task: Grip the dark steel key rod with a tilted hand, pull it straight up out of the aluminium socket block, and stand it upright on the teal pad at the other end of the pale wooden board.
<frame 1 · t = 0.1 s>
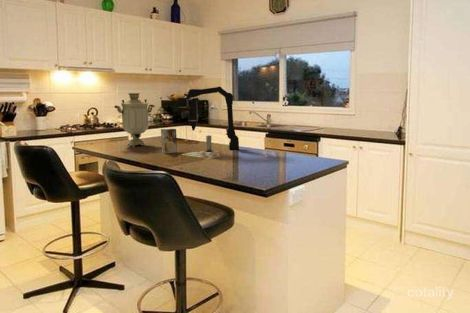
hand: (193, 129, 279), 15 cm above the countertop, tool pointing down, fingers open, 9 cm apart
key rod: (209, 156, 253), point 1 cm above the countertop, touching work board
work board: (201, 156, 257), on the countertop
coffee box: (169, 152, 275), on the countertop
samovar: (137, 145, 310), on the countertop
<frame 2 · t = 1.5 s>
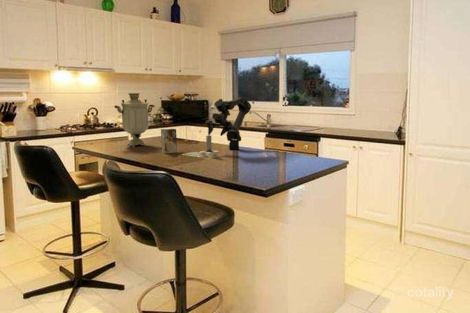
hand: (214, 135, 258), 13 cm above the countertop, tool tilted 45°, fingers open, 9 cm apart
nothing on the countertop moved.
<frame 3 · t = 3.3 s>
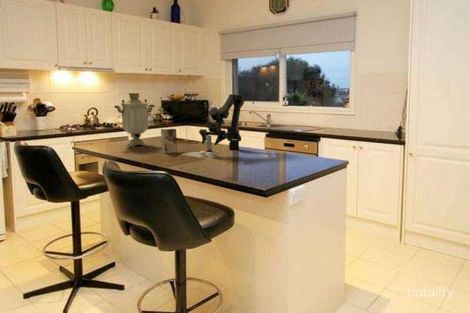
hand: (208, 144, 251), 9 cm above the countertop, tool tilted 45°, fingers open, 9 cm apart
nothing on the countertop moved.
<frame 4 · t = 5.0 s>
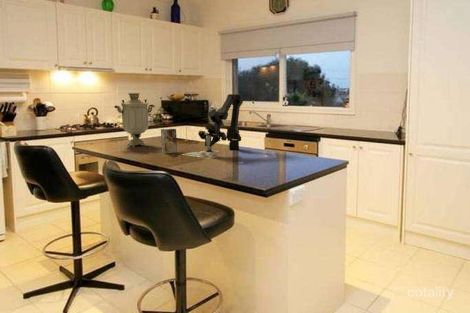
hand: (207, 146, 250), 8 cm above the countertop, tool tilted 45°, fingers closed on key rod, 3 cm apart
key rod: (209, 156, 253), point 1 cm above the countertop, touching gripper, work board
everything else where it was.
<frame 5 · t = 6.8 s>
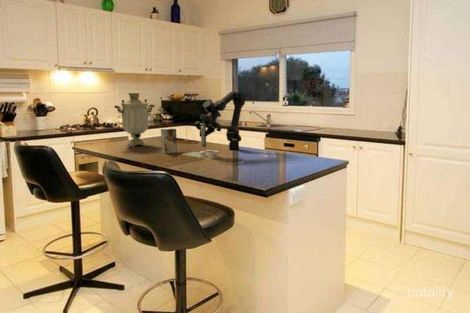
hand: (202, 136, 251), 13 cm above the countertop, tool tilted 45°, fingers closed on key rod, 3 cm apart
key rod: (203, 146, 254), point 7 cm above the countertop, touching gripper
everything else where it was.
when the fingers open (9 cm above the countertop, at t = 8.8 s): key rod stays where it is, resting on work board.
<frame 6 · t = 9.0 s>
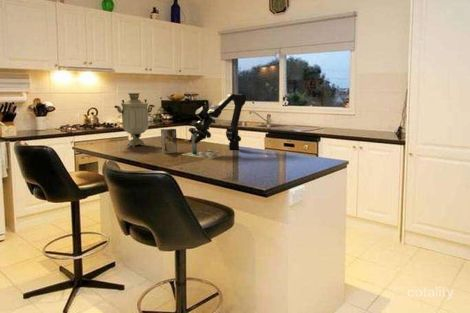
hand: (192, 142, 258), 9 cm above the countertop, tool tilted 45°, fingers open, 5 cm apart
key rod: (194, 153, 261), point 1 cm above the countertop, touching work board
everything else where it was.
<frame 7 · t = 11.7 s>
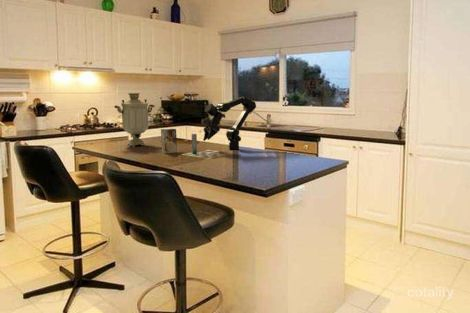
hand: (205, 140, 265), 9 cm above the countertop, tool tilted 35°, fingers open, 9 cm apart
nothing on the countertop moved.
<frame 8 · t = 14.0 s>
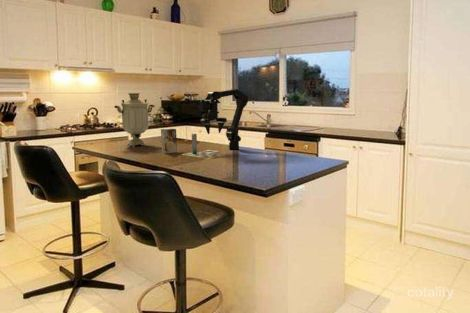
hand: (214, 133, 270), 13 cm above the countertop, tool pointing down, fingers open, 9 cm apart
nothing on the countertop moved.
at the end: key rod 0.1 cm from the target spot, point 1.2 cm above the countertop; key rod tilted 1°; the gripper is holding nothing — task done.
